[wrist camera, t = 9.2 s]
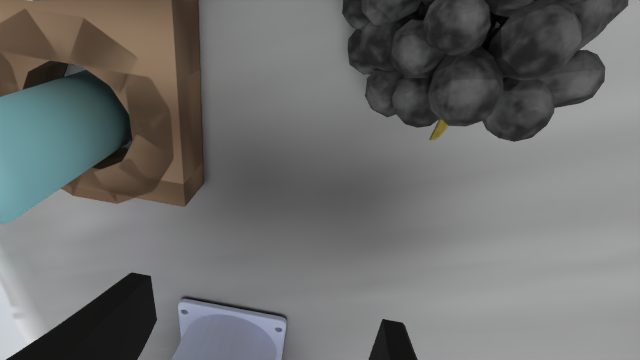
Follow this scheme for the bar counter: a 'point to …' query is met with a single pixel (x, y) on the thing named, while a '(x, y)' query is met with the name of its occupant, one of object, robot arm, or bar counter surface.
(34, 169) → the peg
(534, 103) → the fruit
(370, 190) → the bar counter surface
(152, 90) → the socket station
